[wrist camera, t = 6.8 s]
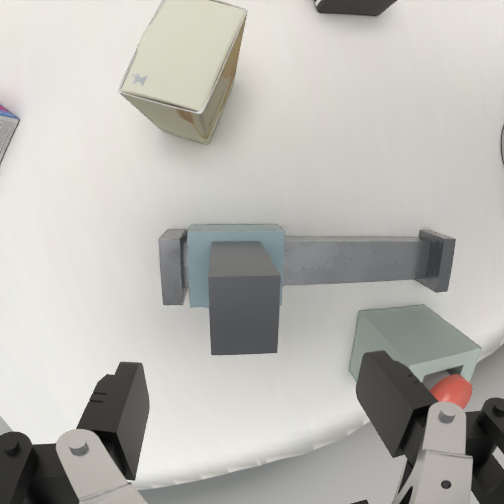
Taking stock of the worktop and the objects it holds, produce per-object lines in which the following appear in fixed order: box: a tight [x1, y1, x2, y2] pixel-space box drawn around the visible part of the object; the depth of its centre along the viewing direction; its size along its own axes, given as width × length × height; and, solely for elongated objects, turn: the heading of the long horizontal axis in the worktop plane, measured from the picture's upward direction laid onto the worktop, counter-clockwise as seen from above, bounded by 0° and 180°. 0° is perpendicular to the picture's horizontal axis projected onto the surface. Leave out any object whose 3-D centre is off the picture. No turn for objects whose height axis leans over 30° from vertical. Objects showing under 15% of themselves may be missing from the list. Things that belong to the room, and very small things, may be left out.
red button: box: [422, 370, 472, 409], centre depth 24 cm, size 5×5×10 cm
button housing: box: [349, 305, 482, 382], centre depth 26 cm, size 8×7×10 cm
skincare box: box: [118, 0, 247, 144], centre depth 18 cm, size 6×4×12 cm
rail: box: [159, 229, 456, 305], centre depth 26 cm, size 25×5×4 cm, turn 89°
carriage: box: [187, 224, 284, 355], centre depth 21 cm, size 7×6×11 cm
